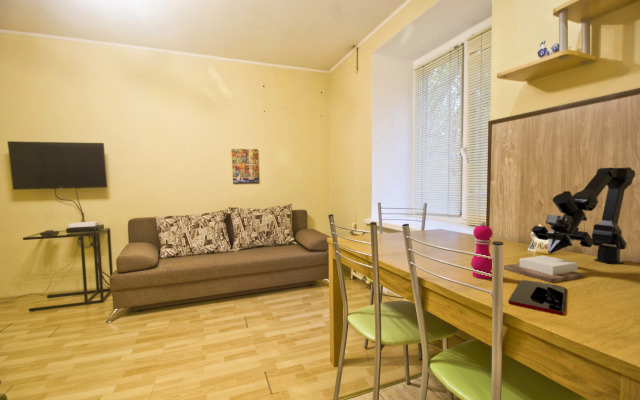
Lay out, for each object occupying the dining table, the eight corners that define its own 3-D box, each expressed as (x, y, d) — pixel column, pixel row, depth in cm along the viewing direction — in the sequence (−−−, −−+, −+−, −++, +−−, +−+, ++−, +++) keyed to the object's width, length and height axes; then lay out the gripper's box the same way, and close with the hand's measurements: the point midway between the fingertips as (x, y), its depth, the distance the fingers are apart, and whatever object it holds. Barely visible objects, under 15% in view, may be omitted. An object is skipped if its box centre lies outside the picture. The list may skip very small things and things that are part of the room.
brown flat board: (531, 264, 122) (531, 261, 122) (582, 277, 105) (582, 273, 105) (502, 268, 117) (502, 265, 116) (551, 282, 100) (551, 279, 99)
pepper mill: (473, 272, 112) (474, 219, 111) (495, 275, 108) (496, 220, 107) (468, 277, 107) (469, 221, 106) (491, 281, 102) (492, 223, 101)
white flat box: (543, 255, 119) (519, 258, 115) (577, 262, 108) (552, 266, 104) (543, 262, 119) (519, 266, 115) (577, 270, 108) (552, 275, 104)
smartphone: (566, 286, 94) (564, 312, 75) (566, 291, 94) (563, 318, 75) (520, 278, 102) (507, 300, 83) (520, 283, 102) (506, 305, 83)
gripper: (535, 205, 121) (514, 234, 118) (589, 209, 104) (566, 243, 101) (548, 224, 124) (528, 252, 121) (603, 230, 107) (581, 264, 104)
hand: (549, 252), depth 112 cm, fingers closed
